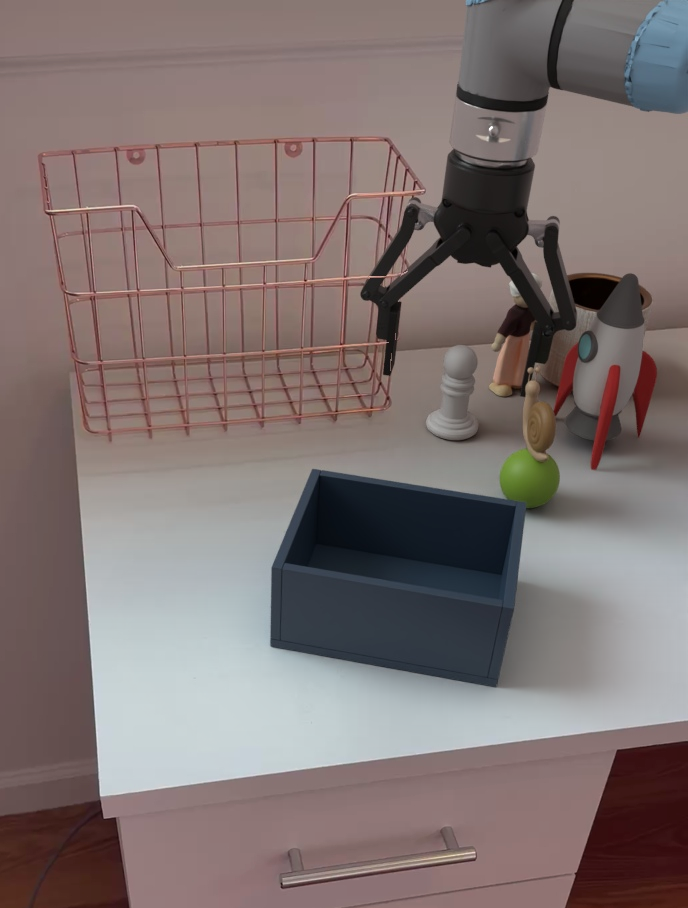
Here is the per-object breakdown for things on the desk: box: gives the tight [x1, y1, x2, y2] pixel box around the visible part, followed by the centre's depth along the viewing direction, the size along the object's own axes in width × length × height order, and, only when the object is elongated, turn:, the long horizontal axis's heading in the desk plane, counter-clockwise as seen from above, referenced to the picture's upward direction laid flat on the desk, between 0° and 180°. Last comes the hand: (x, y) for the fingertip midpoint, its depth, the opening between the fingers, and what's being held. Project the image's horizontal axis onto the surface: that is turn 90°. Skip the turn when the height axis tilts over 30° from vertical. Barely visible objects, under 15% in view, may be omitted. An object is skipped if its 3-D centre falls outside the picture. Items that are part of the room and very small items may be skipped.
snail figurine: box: [499, 366, 561, 509], centre depth 92 cm, size 5×6×12 cm
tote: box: [269, 468, 527, 688], centre depth 81 cm, size 18×14×8 cm
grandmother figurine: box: [488, 272, 543, 397], centre depth 109 cm, size 8×4×13 cm, turn 150°
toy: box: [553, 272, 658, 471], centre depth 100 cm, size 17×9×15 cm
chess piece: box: [425, 344, 479, 441], centre depth 102 cm, size 5×5×9 cm
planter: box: [535, 272, 654, 394], centre depth 112 cm, size 11×11×10 cm
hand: (456, 380), depth 102 cm, fingers open, 13 cm apart
